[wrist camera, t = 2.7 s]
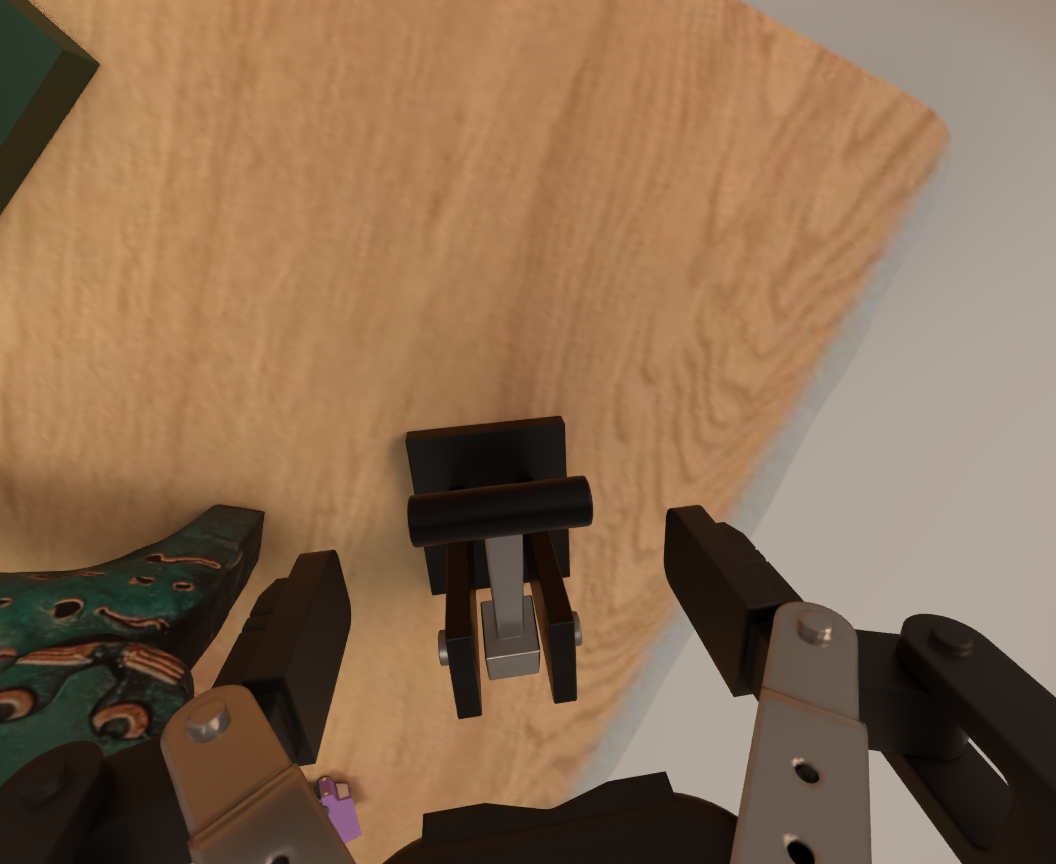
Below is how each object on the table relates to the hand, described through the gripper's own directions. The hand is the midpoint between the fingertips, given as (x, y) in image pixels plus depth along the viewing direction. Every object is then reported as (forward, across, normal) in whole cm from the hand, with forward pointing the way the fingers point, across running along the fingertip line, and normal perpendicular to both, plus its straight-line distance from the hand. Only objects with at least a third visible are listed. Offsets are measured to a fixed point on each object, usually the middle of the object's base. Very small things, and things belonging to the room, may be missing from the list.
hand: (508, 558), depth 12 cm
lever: (+6, 0, +4) cm, 7 cm away
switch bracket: (+17, 0, +9) cm, 20 cm away
